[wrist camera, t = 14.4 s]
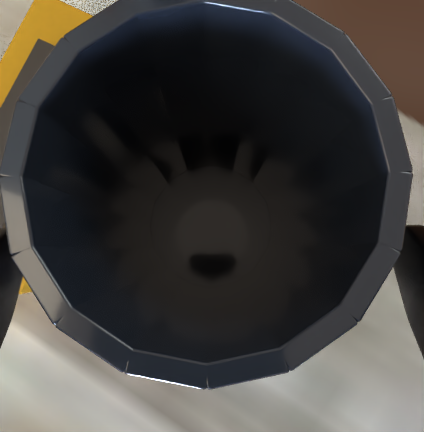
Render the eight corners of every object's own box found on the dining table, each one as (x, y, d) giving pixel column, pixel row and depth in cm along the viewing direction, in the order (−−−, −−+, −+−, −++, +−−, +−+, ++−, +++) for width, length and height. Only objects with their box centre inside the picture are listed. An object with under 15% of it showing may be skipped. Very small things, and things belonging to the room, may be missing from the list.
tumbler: (193, 318, 18) (147, 475, 5) (120, 208, 18) (-77, 121, 6) (302, 243, 18) (494, 227, 6) (227, 137, 19) (255, -89, 6)
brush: (49, 287, 18) (9, 297, 14) (-50, 238, 18) (-114, 236, 15) (160, 72, 19) (147, 30, 15) (63, 27, 19) (29, -23, 16)
